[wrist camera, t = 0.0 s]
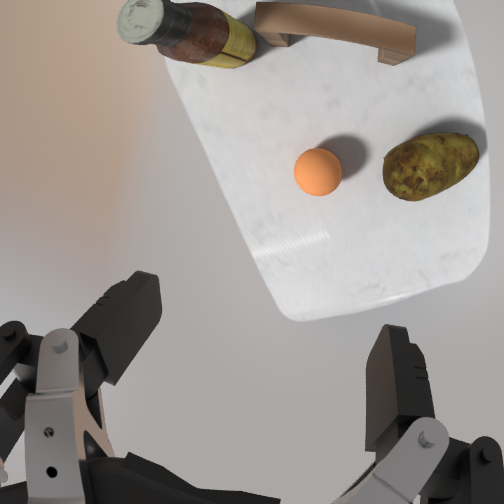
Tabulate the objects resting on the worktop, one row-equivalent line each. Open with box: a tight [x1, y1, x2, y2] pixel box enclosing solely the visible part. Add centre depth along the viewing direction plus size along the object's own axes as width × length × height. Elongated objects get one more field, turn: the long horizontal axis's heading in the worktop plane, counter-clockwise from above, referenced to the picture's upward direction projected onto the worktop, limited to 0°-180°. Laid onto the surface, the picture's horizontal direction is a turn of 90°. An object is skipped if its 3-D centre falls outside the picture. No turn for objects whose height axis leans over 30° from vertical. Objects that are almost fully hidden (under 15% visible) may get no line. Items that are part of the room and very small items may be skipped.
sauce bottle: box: [117, 0, 257, 68], centre depth 22 cm, size 6×6×20 cm
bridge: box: [254, 2, 416, 66], centre depth 24 cm, size 3×14×9 cm, turn 85°
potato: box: [383, 133, 479, 201], centre depth 28 cm, size 8×13×8 cm, turn 93°
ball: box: [294, 148, 342, 196], centre depth 33 cm, size 6×6×6 cm
